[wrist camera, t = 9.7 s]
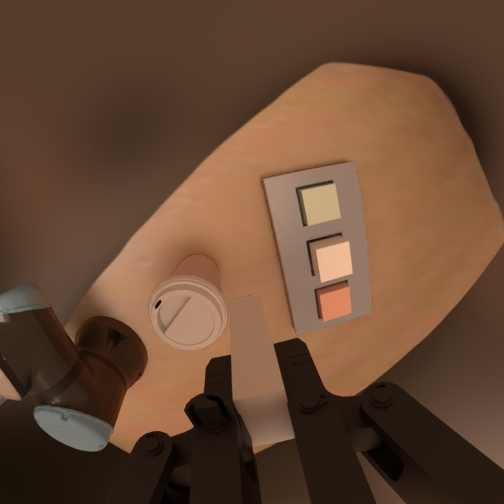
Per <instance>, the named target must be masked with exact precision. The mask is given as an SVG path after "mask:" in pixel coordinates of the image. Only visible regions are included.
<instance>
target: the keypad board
mask: <svg viewBox="0 0 504 504" xmlns="http://www.w3.org/2000/svg"><path fill="white" fill-rule="evenodd" d="M261 180H262V184H263V189H264V193H265V197H266V202H267V206H268V211H269V215H270V219H271V224H272V228H273V233H274V237H275V242H276V247H277V251H278V256H279V261H280V265H281V270H282V275H283V279H284V284H285V289H286V294H287V299H288V304H289V309H290V314H291V319H292V324H293V328H294V330H295V333H296V335H297V336H299V335H302V334H306V333H309V332H313V331H316V330H320V329H323V328H326V327H330V326H333V325H336V324H339V323H342V322H345V321H349V320H352V319H355V318H358V317H361V316H364V315H366V314H369V313H371V292H370V274H369V261H368V250H367V240H366V231H365V223H364V215H363V207H362V201H361V194H360V188H359V182H358V176H357V170H356V165H355V161H354V162H342V163H337V164H331V165H325V166H320V167H315V168H309V169H304V170H299V171H294V172H289V173H285V174H280V175H275V176H271V177H266V178H262V179H261ZM326 182H328V183H334V184H335V186H336V191H337V197H338V203H339V209H340V215H341V218H339V219H335V220H330V221H326V222H322V223H318V224H314V225H310V226H308V225H307V224H305V223H304V222H302V218H301V213H300V208H299V203H298V198H297V194H296V189H297V188H302V187H307V186H311V185H316V184H321V183H326ZM339 235H340V236H342V237H343V238H345V239H346V240H348V241H349V245H350V253H351V262H352V272H353V274H349V275H346V276H343V277H339V278H336V279H332V280H329V281H325V282H322V283H321V282H320V281H319V279H318V278H317V277H316V276H315V274H314V270H313V264H312V258H311V252H310V246H309V243H312V242H316V241H320V240H324V239H328V238H331V237H335V236H339ZM341 281H345V282H346V283H347V285H348V286H349V287H350V299H351V312H352V313H350V314H347V315H344V316H341V317H338V318H334V319H331V320H328V321H325V322H323V320H322V319H321V317H320V315H319V314H318V312H317V306H316V299H315V293H314V289H316V288H320V287H323V286H327V285H330V284H334V283H337V282H341Z"/></svg>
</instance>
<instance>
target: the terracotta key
mask: <svg viewBox="0 0 504 504" xmlns="http://www.w3.org/2000/svg"><path fill="white" fill-rule="evenodd" d="M314 293H315V299H316V306H317V312H318V314H319V315H320V317H321V319H322V320H323V322H325V321H328V320H331V319H334V318H338V317H341V316H344V315H347V314H350V313H352V312H351V299H350V287H349V286H348V285H347V283H346V282H345V281H341V282H337V283H334V284H330V285H327V286H323V287H320V288H316V289H314Z"/></svg>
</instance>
